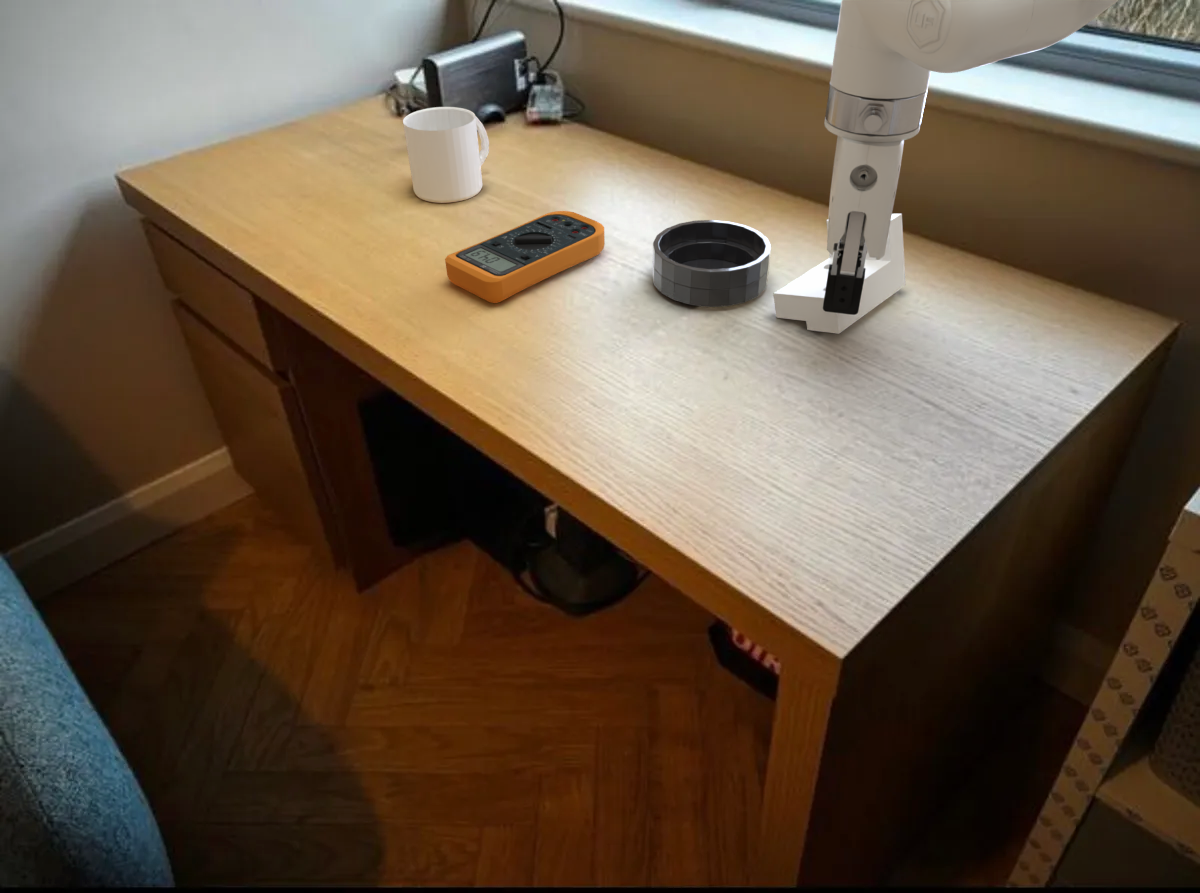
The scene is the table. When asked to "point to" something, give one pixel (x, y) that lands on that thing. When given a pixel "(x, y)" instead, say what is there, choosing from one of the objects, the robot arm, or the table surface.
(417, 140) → the mug
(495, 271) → the multimeter
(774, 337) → the table surface
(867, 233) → the robot arm
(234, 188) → the table surface
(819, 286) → the bracket
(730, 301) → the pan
